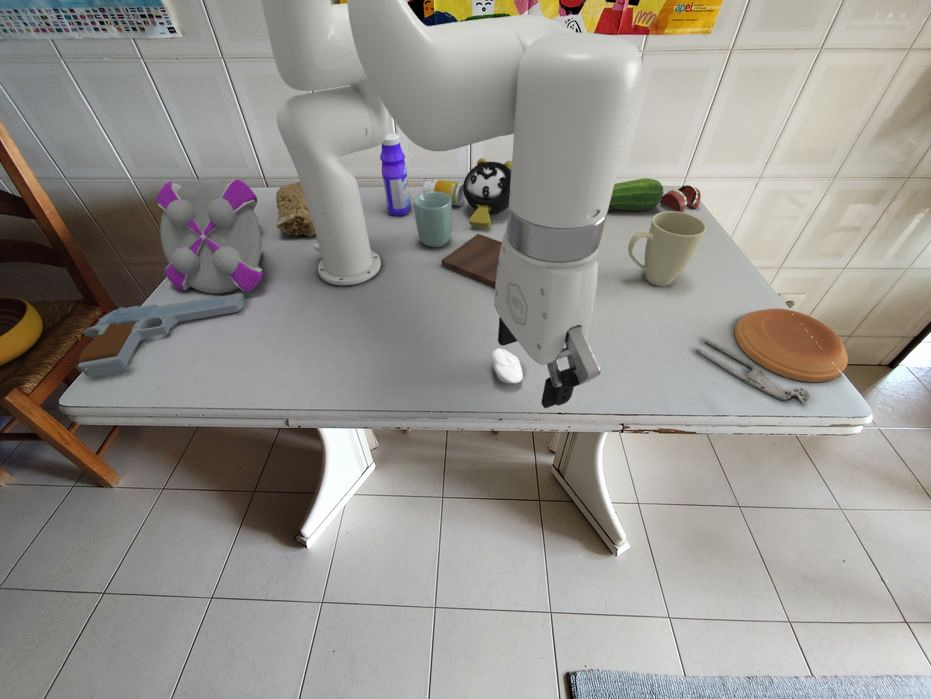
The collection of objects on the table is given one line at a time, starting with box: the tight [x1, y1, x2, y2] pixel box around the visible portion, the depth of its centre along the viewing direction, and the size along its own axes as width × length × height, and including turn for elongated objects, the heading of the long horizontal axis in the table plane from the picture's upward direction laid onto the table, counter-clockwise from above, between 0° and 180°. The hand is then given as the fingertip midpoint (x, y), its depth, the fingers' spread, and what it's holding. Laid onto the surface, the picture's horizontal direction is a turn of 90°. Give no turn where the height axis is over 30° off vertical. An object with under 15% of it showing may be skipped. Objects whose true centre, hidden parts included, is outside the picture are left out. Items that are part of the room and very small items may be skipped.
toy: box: [156, 179, 264, 295], centre depth 83 cm, size 25×25×15 cm
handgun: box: [77, 292, 245, 379], centre depth 72 cm, size 4×25×15 cm
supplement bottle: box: [422, 179, 465, 207], centre depth 106 cm, size 5×5×10 cm
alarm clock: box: [463, 157, 512, 228], centre depth 99 cm, size 12×15×15 cm
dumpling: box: [490, 347, 524, 384], centre depth 65 cm, size 7×5×4 cm
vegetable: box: [608, 178, 665, 212], centre depth 101 cm, size 7×7×20 cm
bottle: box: [379, 132, 412, 216], centre depth 99 cm, size 7×6×17 cm
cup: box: [413, 191, 453, 248], centre depth 90 cm, size 8×8×10 cm
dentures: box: [659, 184, 702, 213], centre depth 103 cm, size 6×5×9 cm
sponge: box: [275, 181, 316, 237], centre depth 100 cm, size 13×8×20 cm
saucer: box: [734, 308, 849, 383], centre depth 69 cm, size 16×16×3 cm
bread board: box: [441, 233, 502, 289], centre depth 86 cm, size 20×13×2 cm, turn 54°
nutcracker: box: [695, 340, 811, 406], centre depth 65 cm, size 16×1×5 cm
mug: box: [627, 210, 707, 287], centre depth 79 cm, size 11×10×12 cm
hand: (531, 369), depth 46 cm, fingers open, 9 cm apart
